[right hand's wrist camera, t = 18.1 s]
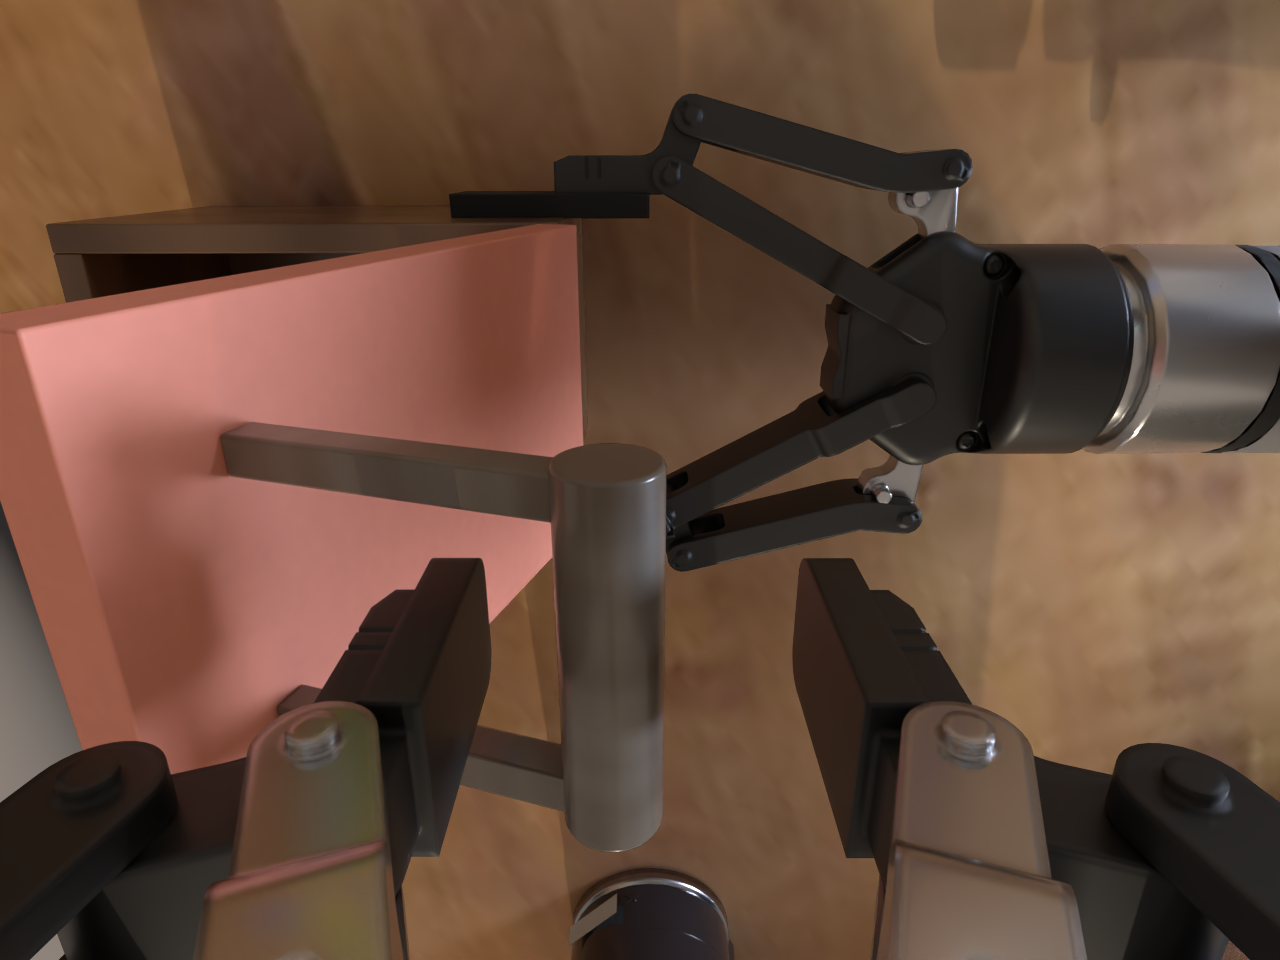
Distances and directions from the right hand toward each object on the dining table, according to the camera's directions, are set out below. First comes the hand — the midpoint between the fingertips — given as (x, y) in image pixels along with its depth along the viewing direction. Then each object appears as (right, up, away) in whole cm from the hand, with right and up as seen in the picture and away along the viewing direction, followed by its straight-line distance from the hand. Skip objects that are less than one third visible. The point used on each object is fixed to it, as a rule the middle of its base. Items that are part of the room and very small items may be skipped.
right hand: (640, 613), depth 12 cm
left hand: (-6, +7, +17) cm, 19 cm away
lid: (-6, +2, +6) cm, 8 cm away
